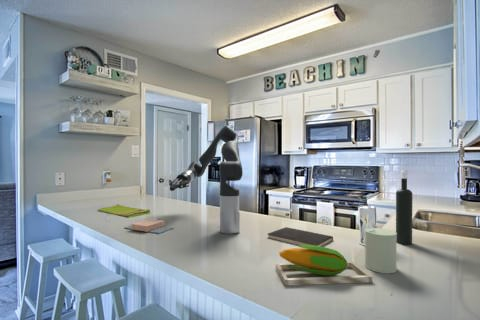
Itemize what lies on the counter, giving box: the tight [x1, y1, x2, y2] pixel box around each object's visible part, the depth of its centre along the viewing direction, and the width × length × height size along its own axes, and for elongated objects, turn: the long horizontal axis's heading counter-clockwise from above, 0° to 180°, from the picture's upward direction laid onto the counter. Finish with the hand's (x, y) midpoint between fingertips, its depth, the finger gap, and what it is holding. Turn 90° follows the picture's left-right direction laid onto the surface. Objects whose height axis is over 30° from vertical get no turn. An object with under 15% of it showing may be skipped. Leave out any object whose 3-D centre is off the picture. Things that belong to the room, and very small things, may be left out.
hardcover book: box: [267, 226, 334, 247], centre depth 116 cm, size 16×23×2 cm
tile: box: [130, 218, 166, 233], centre depth 132 cm, size 10×3×12 cm
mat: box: [124, 225, 174, 235], centre depth 132 cm, size 22×10×1 cm, turn 65°
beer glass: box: [357, 205, 378, 247], centre depth 109 cm, size 7×7×15 cm
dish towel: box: [97, 204, 151, 218], centre depth 173 cm, size 15×36×3 cm, turn 56°
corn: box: [278, 245, 348, 277], centre depth 80 cm, size 7×8×20 cm
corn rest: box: [275, 261, 373, 286], centre depth 80 cm, size 25×11×2 cm, turn 95°
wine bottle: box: [395, 169, 413, 246], centre depth 110 cm, size 6×6×30 cm
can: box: [363, 227, 398, 274], centre depth 85 cm, size 9×9×12 cm
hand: (171, 189), depth 143 cm, fingers closed
